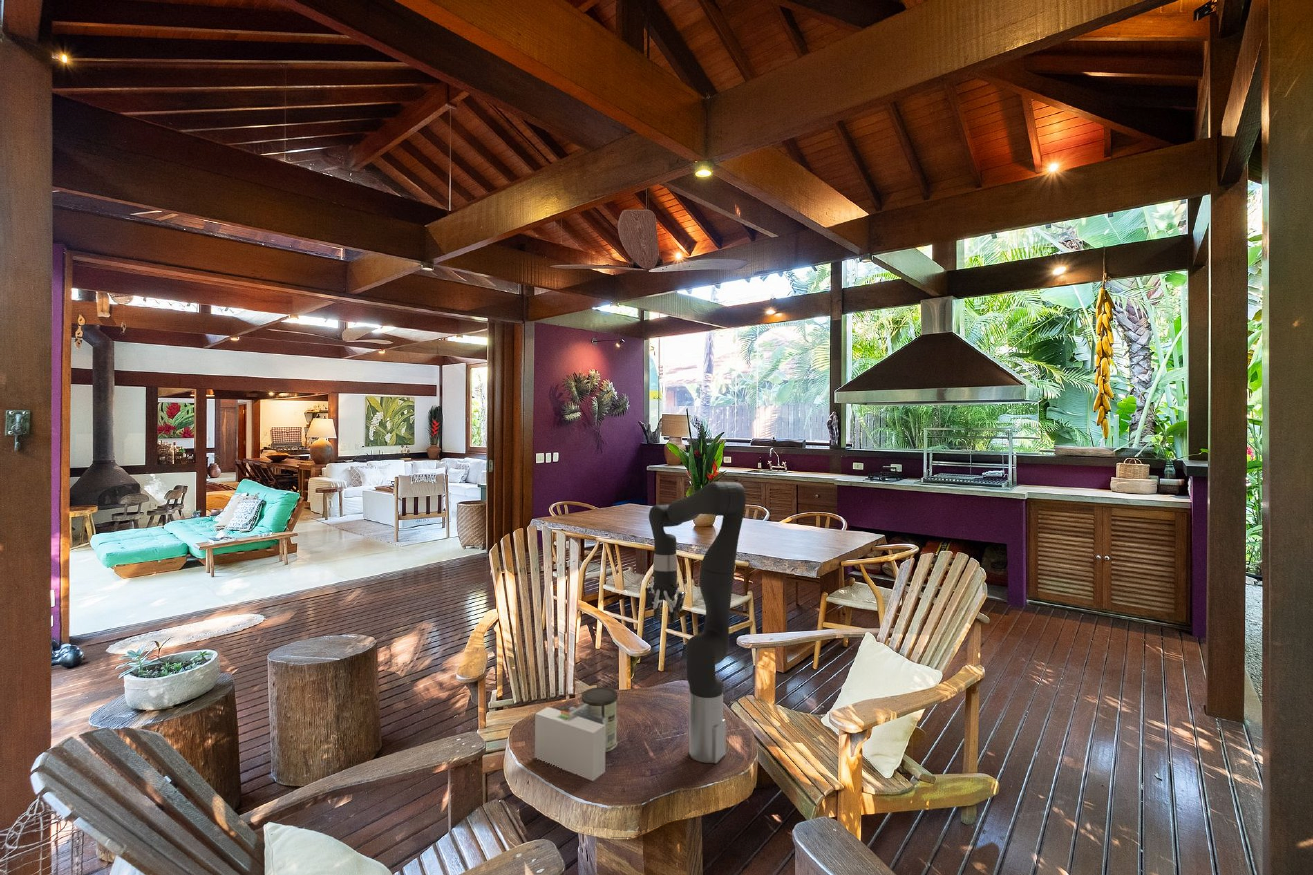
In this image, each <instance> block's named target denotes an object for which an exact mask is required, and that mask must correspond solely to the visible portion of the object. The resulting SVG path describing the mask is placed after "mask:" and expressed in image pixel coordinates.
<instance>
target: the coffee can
mask: <svg viewBox="0 0 1313 875" xmlns="http://www.w3.org/2000/svg"><path fill="white" fill-rule="evenodd" d="M618 696H619V693H618V691H616V690H615V689H614V688H610V687H604V686H602V687H601V686H599V687H591V688H589V689H586V690H584V691H583V692H582V693H581V696H580V697H581V706H582V705H584V704H585V703H586V704H589V705H590V712H591V713H595V714H598V715H601V716H604V717H606V751H605V753H608V752H610V751H613V750H614V749H615V748H616V747H617V746H618Z"/></svg>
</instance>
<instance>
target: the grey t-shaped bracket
mask: <svg viewBox="0 0 1313 875" xmlns="http://www.w3.org/2000/svg"><path fill="white" fill-rule="evenodd" d="M560 711H561V714H564V715H567V716H569V717H573V716H578V717H581V718H584V719H588V720H591V721H594V722H597V723H600V724H603V725H605V751H606V717H604V716H601V715H598V714H595V713H591V712H590V705H589V704H586V703H585V704H584V705H582V704H581V706H578V707H576V706H571V707H568V711H565V710H560Z"/></svg>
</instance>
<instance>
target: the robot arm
mask: <svg viewBox="0 0 1313 875" xmlns="http://www.w3.org/2000/svg"><path fill="white" fill-rule="evenodd" d="M746 498H747V495H746V491H745V487H744V486H743V485H742V483H739V482H735V481H711V482H710V483H707V484H705V485H704V486H703V487H701V488H699V489H698V490H697V491H695V492H694V493H692V494H690V495H688V496H685V497H683V498H679V499H677V500H674V501H672V502H671V503H669V504H655V505H653V506H652V507H651V508H650V510H649V512H648V520H649V524H650V528H651V531H652V532H651V533H652V536H653V541H654V544H653V548H654V549H653V550H654V554H653V564H652V565H653V567H652V568H653V571H652V572H653V573H652V574H653V576H652V577H653V579H652V581H653V584H652V585H649V586H647V587H645V595H646V600H647V603H648V606H649V607H650V608H653V619H654V621H655V622H658V621H661V605H662V602H663V601H665V602H666V604H667V606H668V607H669V609H668V610H669V615H668V616H669V617H668V618H669V622H668V623H669V624H671V625H672V624H675V622H676V621H677V612H678V611H680V610H682V609H683V606H684V602H685V598H686V591H684V590H683V591H681V590H679V589H678V587H677V582H678V558H677V537H676V535H674V534H670V533H666V531H665V528H669V527H677V526H681V525H682V524H683V523H687V522H691V521H693V520H695V519H697V518H698V517H699V515H713V516H719V517H721V516H722V521H721V525H720V529H719V532H718V533H717V536H716V537H715V539H714V540H713V542H712V543H711V544H710V546H709V547H708V549H707V551H706V552H705V554H704V555H703V558H702V561H701V566H700V573H699V574H700V575H699V587H700V588H699V589H700V592H701V595H702V599H703V602H704V605H705V620H704V623H703V629H702V632H699V633H698V634H695V635H692V636H691V637H690V638H689V639H688V641H687V642H686V647H685V665H686V666H685V669H686V670H685V672H686V680H687V683H688V686H689V701H688V702H689V715H688V716H689V717H688V718H689V722H688V724H689V725H688V726H689V728H688V730H689V731H688V732H689V733H688V734H689V735H688V736H689V737H688V740H689V742H688V743H689V744H688V748H689V749H688V750H689V756H690V757H691V758H692V760H694V761H696V762H700V763H706V764H709V763H711V764H712V763H713V764H718V762H719V761H720V760H721V759H723V757H724V756H725V755H726V754H727V749H726V748H727V735H726V734H727V720H726V719H725V718H724V683H723V680H722V679H721V678H719V677H717V675H716V665H718V664H720V663H721V662H723V661H724V659H725V658H726V657H727V655H728V654H729V653H728V652H729V647H730V646H729V644H730V643H729V642H730V641H729V640H730V639H729V638H730V614H731V612H730V611H731V605H732V594H733V587H734V586H733V585H734V581H735V574H736V573H735V570H736V569H735V568H736V559H737V554H738V553H737V552H738V546H739V545H738V544H739V538H740V532H741V528H742V524H743V519H744V514H745V511H746V510H745V509H746V504H747V499H746ZM654 594H655V595H654Z"/></svg>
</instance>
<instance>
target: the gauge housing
mask: <svg viewBox="0 0 1313 875" xmlns="http://www.w3.org/2000/svg"><path fill="white" fill-rule="evenodd" d="M561 711H562V710H559V709H556V708H554V707H550V706H547V707H544V708H543V709H541V710H540V711H538V712H535V714H534V715H535V716H534V718H535V719H534V720H535V721H534V759H535V758H537V759H536V760H538V759H540V760H542V761H541V762H543V761H545V762H544V763H546V762H547V763H546V764H548V763H550V764H549V765H551V764H552V765H551V766H553V765H555V766H554V767H556V766H557V767H556V768H558V767H559V769H561V768H562V769H561V770H563V771H566V772H569V773H571V774H575V775H576V774H577V776H580V777H582V778H585V779H586V780H589V781H591V782H594V781H595V780H596V779H598V778H599V777H600V776H602V775H603V774H605V772H606V752H605V725H603V724H600V723H597V722H594V721H591V720H588V719H584V718H581V717H578V716H573V717H569V716H567V715H564V714H561ZM540 760H539V761H540Z"/></svg>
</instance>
